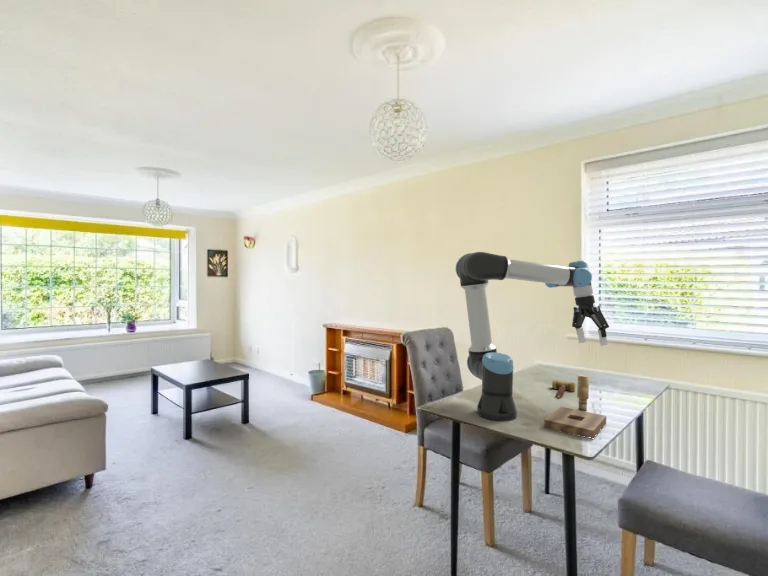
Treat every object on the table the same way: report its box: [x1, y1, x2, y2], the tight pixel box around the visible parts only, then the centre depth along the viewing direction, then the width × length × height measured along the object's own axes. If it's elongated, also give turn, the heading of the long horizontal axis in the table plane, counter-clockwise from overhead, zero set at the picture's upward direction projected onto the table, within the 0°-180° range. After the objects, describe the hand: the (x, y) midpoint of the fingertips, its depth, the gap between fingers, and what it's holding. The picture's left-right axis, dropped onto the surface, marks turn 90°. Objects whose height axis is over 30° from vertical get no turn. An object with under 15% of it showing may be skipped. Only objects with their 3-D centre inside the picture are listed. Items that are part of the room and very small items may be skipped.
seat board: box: [543, 406, 607, 439], centre depth 146 cm, size 16×20×3 cm
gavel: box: [551, 379, 576, 399], centre depth 189 cm, size 21×5×10 cm
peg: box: [576, 374, 590, 412], centre depth 165 cm, size 4×4×14 cm
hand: (592, 343), depth 174 cm, fingers open, 13 cm apart
